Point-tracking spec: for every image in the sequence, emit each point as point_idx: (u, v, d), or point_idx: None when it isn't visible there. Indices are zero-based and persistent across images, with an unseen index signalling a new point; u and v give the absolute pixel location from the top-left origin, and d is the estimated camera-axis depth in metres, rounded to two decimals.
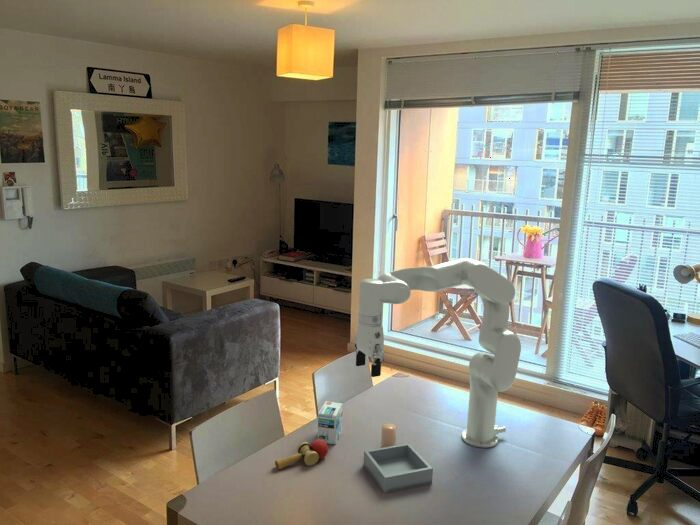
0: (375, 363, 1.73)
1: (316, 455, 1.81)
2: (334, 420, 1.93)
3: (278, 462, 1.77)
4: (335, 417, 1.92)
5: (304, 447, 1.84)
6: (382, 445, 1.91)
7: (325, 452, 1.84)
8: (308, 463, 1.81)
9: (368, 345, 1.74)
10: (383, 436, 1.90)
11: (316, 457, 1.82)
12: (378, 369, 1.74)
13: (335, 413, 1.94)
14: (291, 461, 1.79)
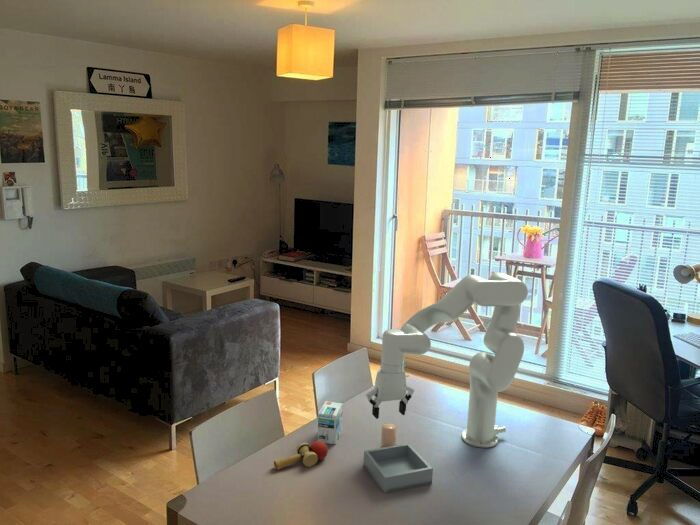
0: (407, 401, 1.91)
1: (315, 456, 1.81)
2: (334, 420, 1.93)
3: (277, 462, 1.77)
4: (335, 417, 1.92)
5: (303, 448, 1.83)
6: (382, 445, 1.91)
7: (324, 453, 1.83)
8: (307, 464, 1.80)
9: (402, 389, 1.88)
10: (383, 436, 1.90)
11: (315, 458, 1.81)
12: None
13: (335, 413, 1.94)
14: (290, 462, 1.79)
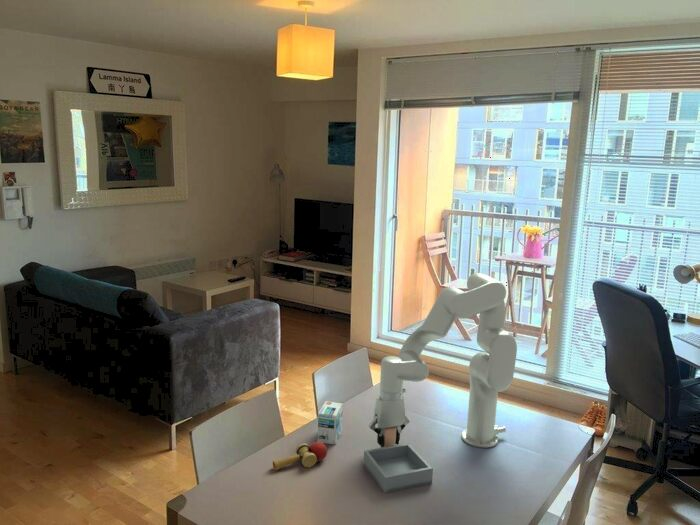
0: None
1: (314, 457, 1.80)
2: (334, 420, 1.93)
3: (275, 463, 1.77)
4: (335, 417, 1.92)
5: (303, 448, 1.83)
6: None
7: (324, 454, 1.82)
8: (306, 465, 1.79)
9: (402, 415, 1.90)
10: None
11: (314, 459, 1.80)
12: None
13: (335, 413, 1.94)
14: (288, 462, 1.78)
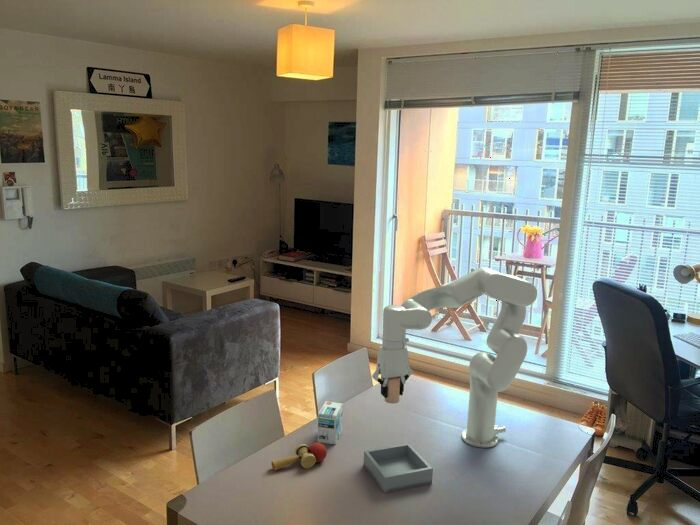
0: None
1: (313, 458, 1.79)
2: (334, 420, 1.93)
3: (274, 463, 1.77)
4: (335, 417, 1.92)
5: (302, 449, 1.82)
6: None
7: (323, 455, 1.81)
8: (305, 466, 1.79)
9: (405, 365, 1.86)
10: None
11: (313, 460, 1.80)
12: None
13: (335, 413, 1.94)
14: (287, 463, 1.78)
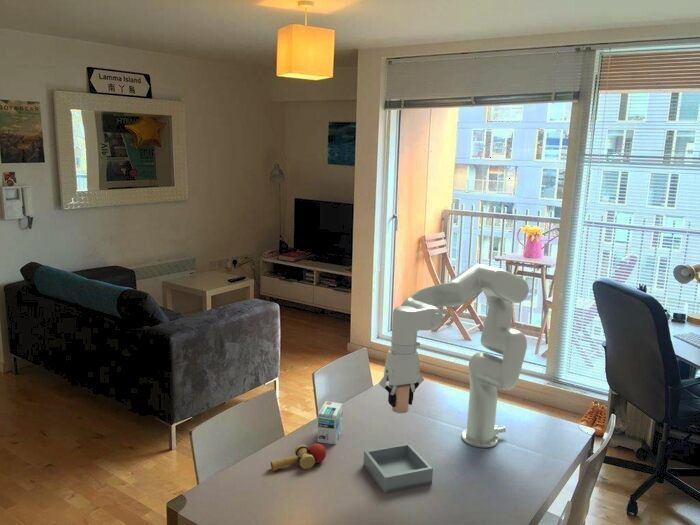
0: (414, 389, 1.73)
1: (312, 459, 1.79)
2: (334, 420, 1.93)
3: (273, 463, 1.76)
4: (335, 417, 1.92)
5: (301, 450, 1.82)
6: None
7: (322, 456, 1.81)
8: (304, 466, 1.79)
9: (415, 372, 1.71)
10: None
11: (312, 461, 1.79)
12: None
13: (335, 413, 1.94)
14: (286, 463, 1.78)
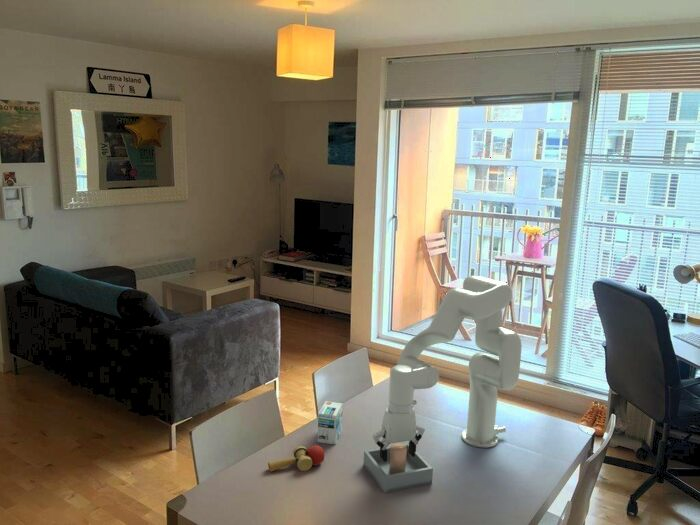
0: (417, 441, 1.77)
1: (310, 461, 1.78)
2: (334, 420, 1.93)
3: (270, 464, 1.76)
4: (335, 417, 1.92)
5: (300, 451, 1.81)
6: (391, 467, 1.76)
7: (320, 459, 1.79)
8: (301, 468, 1.78)
9: (412, 429, 1.74)
10: (392, 457, 1.75)
11: (310, 463, 1.78)
12: None
13: (335, 413, 1.94)
14: (284, 464, 1.77)
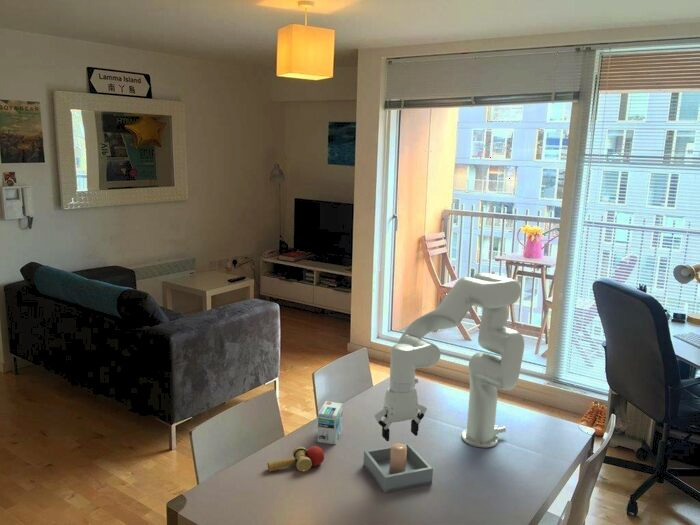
0: (419, 420, 1.76)
1: (309, 461, 1.77)
2: (334, 420, 1.93)
3: (269, 464, 1.76)
4: (335, 417, 1.92)
5: (299, 452, 1.81)
6: (391, 467, 1.76)
7: (319, 459, 1.79)
8: (300, 469, 1.77)
9: (414, 408, 1.73)
10: (392, 457, 1.75)
11: (309, 463, 1.78)
12: None
13: (335, 413, 1.94)
14: (283, 465, 1.77)
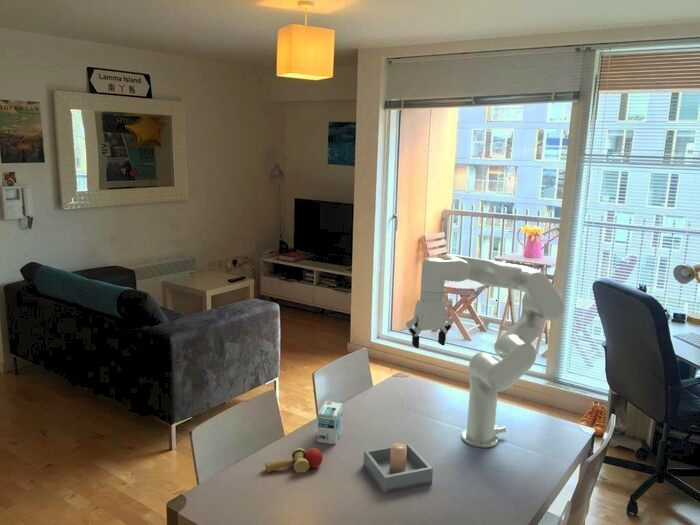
0: (447, 331, 1.89)
1: (306, 463, 1.76)
2: (334, 420, 1.93)
3: (267, 464, 1.76)
4: (335, 417, 1.92)
5: (298, 453, 1.80)
6: (390, 466, 1.76)
7: (317, 462, 1.78)
8: (298, 470, 1.76)
9: (442, 318, 1.86)
10: (391, 456, 1.76)
11: (307, 465, 1.77)
12: None
13: (335, 413, 1.94)
14: (281, 465, 1.76)
